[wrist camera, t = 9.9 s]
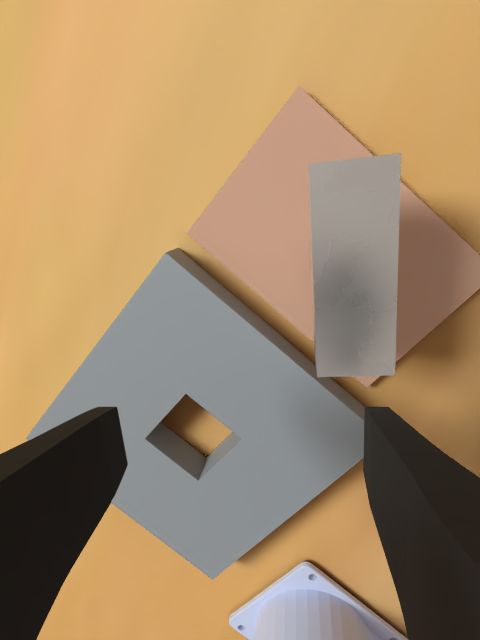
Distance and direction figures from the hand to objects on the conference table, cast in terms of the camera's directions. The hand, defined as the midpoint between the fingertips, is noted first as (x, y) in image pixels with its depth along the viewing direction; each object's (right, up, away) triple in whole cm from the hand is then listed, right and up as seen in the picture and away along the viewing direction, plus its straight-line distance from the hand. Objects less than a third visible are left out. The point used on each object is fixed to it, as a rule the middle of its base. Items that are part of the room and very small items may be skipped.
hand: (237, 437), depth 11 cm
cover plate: (-2, -2, +11) cm, 12 cm away
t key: (+5, +7, +7) cm, 11 cm away
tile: (+5, +7, +7) cm, 11 cm away
